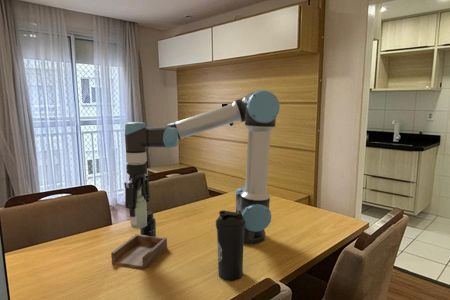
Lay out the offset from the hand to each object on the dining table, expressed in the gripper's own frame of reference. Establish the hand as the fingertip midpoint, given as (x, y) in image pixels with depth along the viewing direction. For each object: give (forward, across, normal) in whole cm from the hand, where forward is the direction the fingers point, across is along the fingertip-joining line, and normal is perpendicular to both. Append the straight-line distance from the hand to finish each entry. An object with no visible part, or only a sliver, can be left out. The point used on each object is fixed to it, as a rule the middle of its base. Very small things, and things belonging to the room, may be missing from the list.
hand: (139, 220), depth 117 cm
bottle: (+2, 0, 0) cm, 2 cm away
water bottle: (+15, +3, +38) cm, 41 cm away
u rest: (+14, 0, 0) cm, 14 cm away
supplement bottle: (+15, -15, -5) cm, 21 cm away
